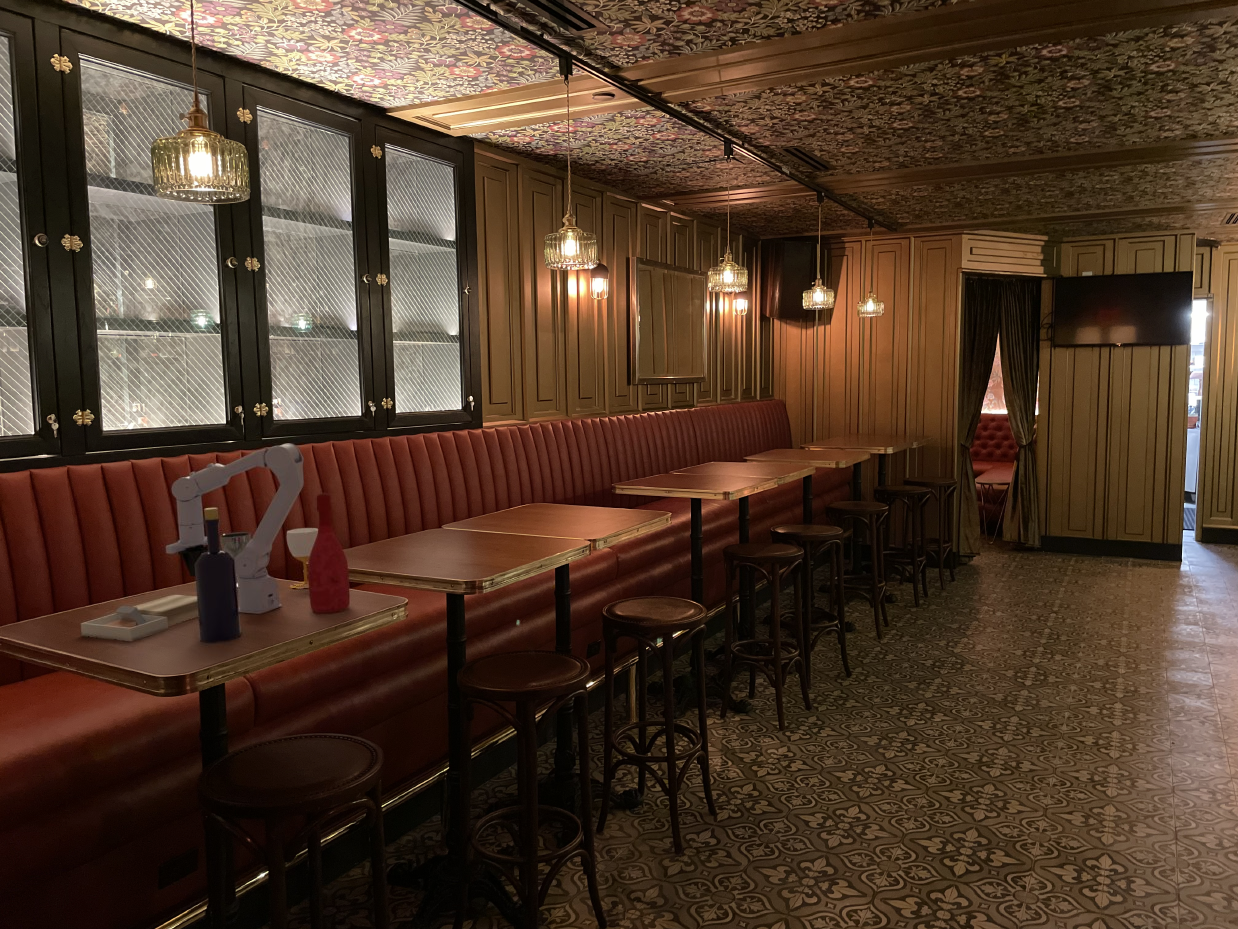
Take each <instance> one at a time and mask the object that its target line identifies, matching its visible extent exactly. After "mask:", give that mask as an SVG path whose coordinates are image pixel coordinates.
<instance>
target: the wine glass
mask: <svg viewBox="0 0 1238 929" xmlns="http://www.w3.org/2000/svg"><path fill="white" fill-rule="evenodd" d="M251 539H252V538H251V532H248V531H246V532H245V531H240V532H239V531H238V532H228V533H223V534H221V535H219V540H220V547H221V550H222V551H228V552H229V553H230V554H231V555H232V556H233V557H234V558H235V557H236V556H237V555H239V554H240V553H242V551H243V550H244V548H245V546H246V545H247V544H248V543H249V542H250V540H251ZM237 587H238V581H237Z"/></svg>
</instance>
